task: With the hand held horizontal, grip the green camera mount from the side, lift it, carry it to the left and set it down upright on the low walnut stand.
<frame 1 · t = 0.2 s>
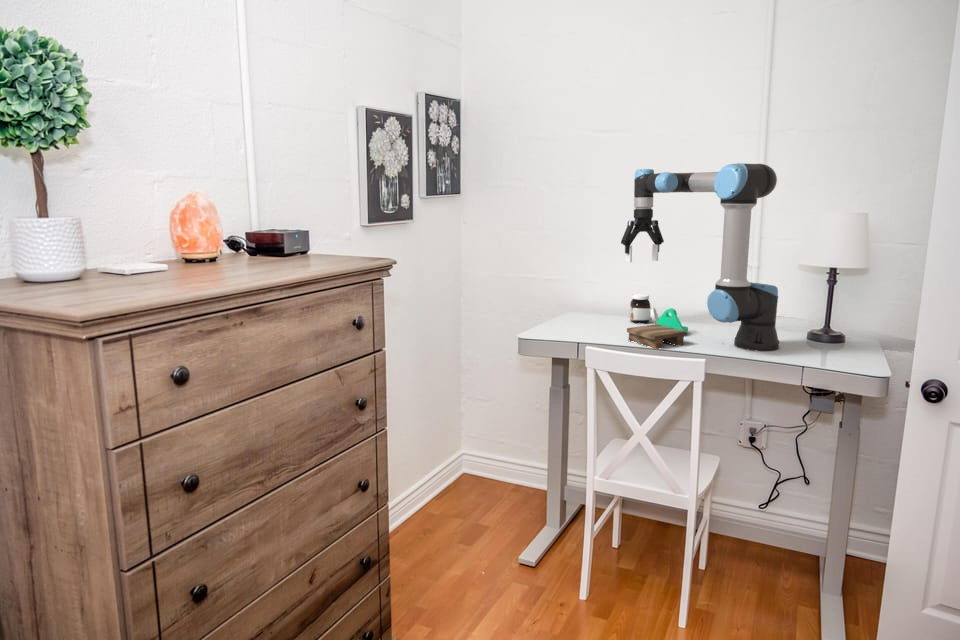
hand: (642, 261, 280), 27 cm above the table, tool pointing down, fingers open, 13 cm apart
walnut stand: (655, 342, 256), on the table
spread jar: (644, 323, 293), on the table
camera mount: (670, 334, 272), on the table
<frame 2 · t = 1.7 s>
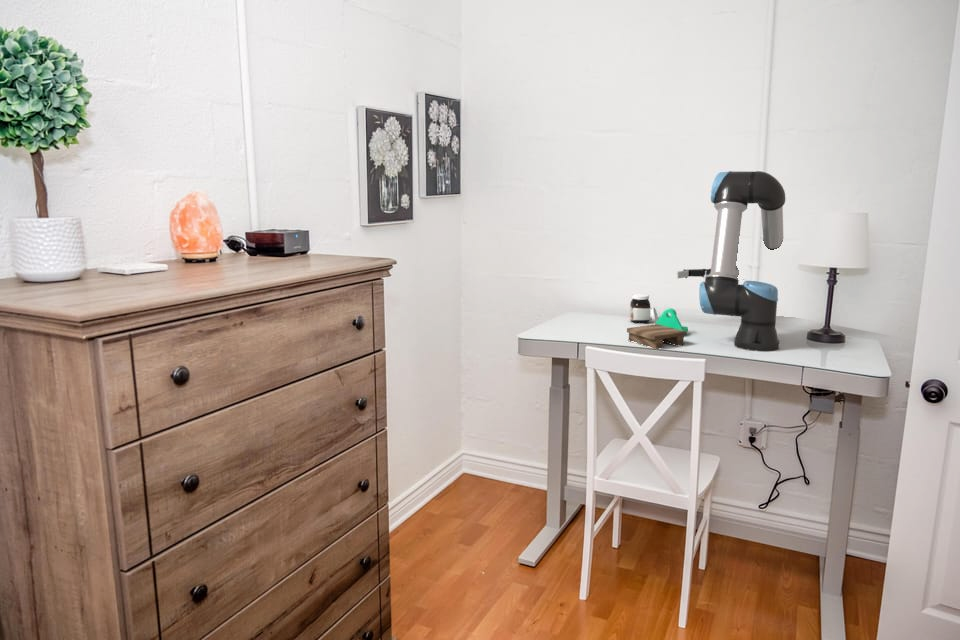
hand: (690, 276, 273), 22 cm above the table, tool horizontal, fingers open, 13 cm apart
nothing on the table moved.
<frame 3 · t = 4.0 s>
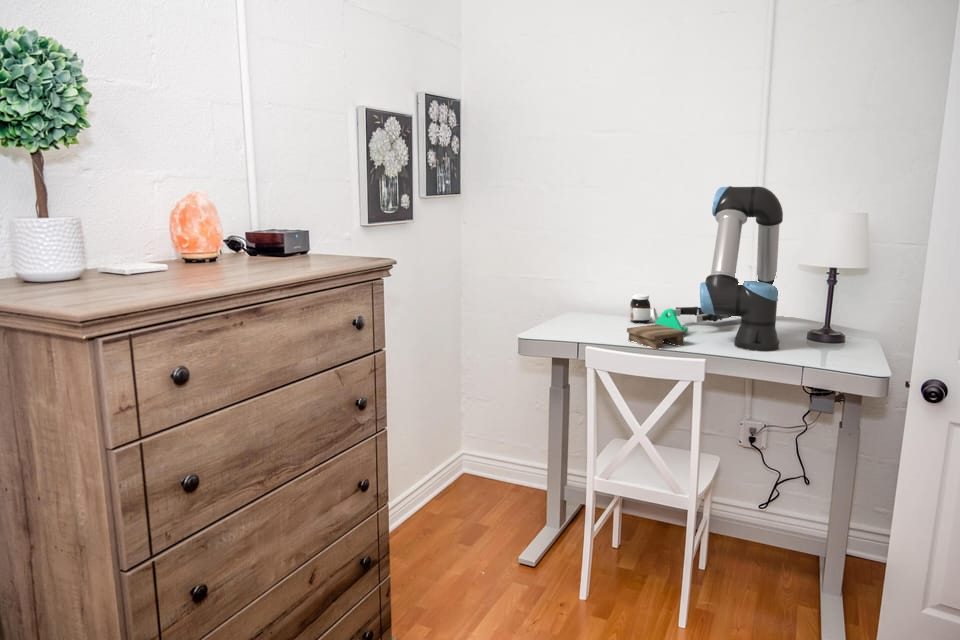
hand: (682, 316, 275), 6 cm above the table, tool horizontal, fingers open, 13 cm apart
nothing on the table moved.
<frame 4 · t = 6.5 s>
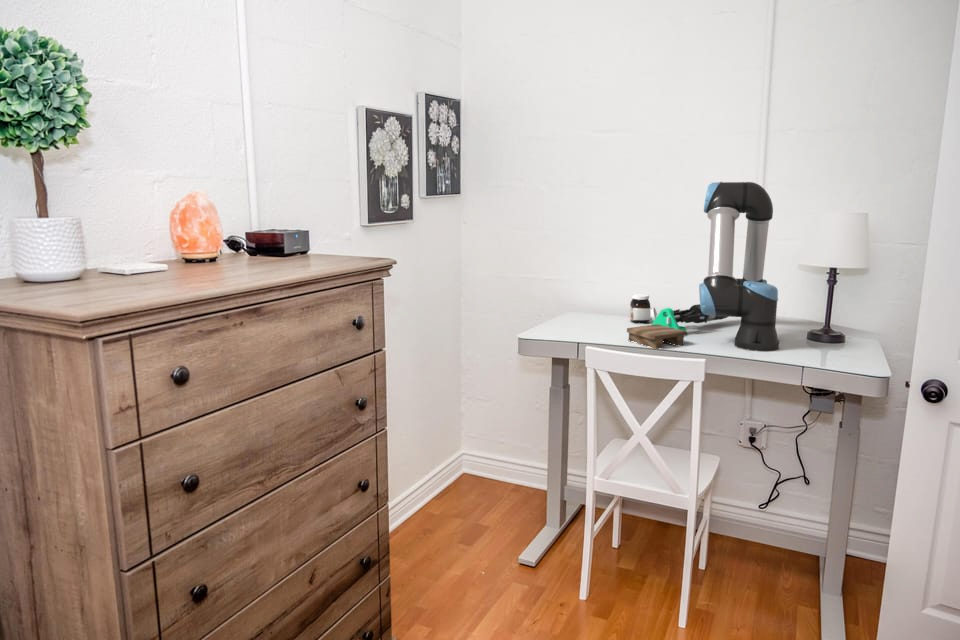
hand: (662, 319, 268), 6 cm above the table, tool horizontal, fingers closed on camera mount, 5 cm apart
camera mount: (668, 333, 272), on the table, touching gripper
everything else where it was.
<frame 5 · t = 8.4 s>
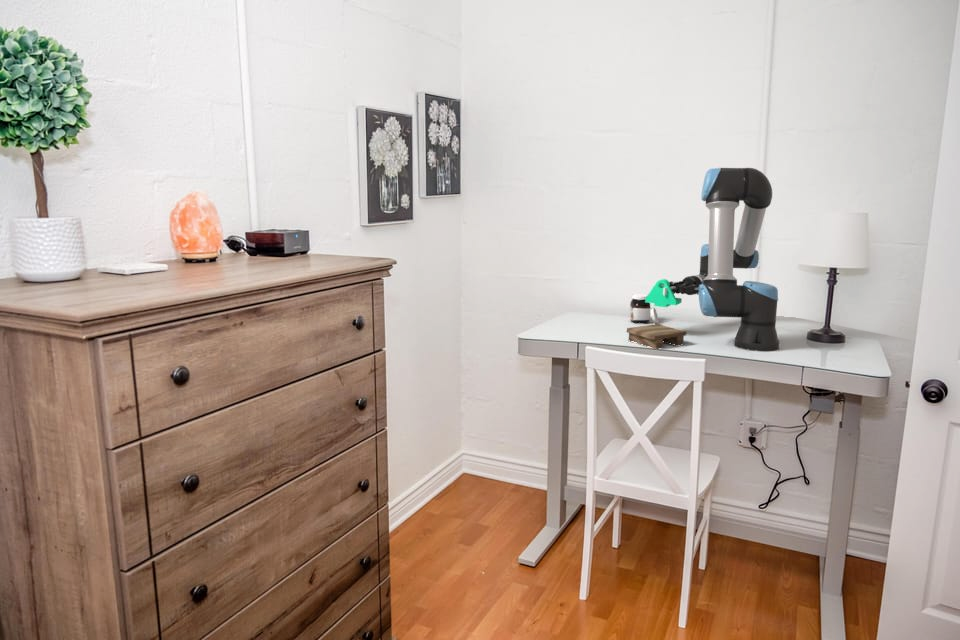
hand: (658, 290, 262), 18 cm above the table, tool horizontal, fingers closed on camera mount, 5 cm apart
camera mount: (663, 305, 266), point 12 cm above the table, touching gripper
everything else where it was.
when the fingers open (12 cm above the table, at t = 10.5 s): camera mount drops 1 cm, resting on walnut stand.
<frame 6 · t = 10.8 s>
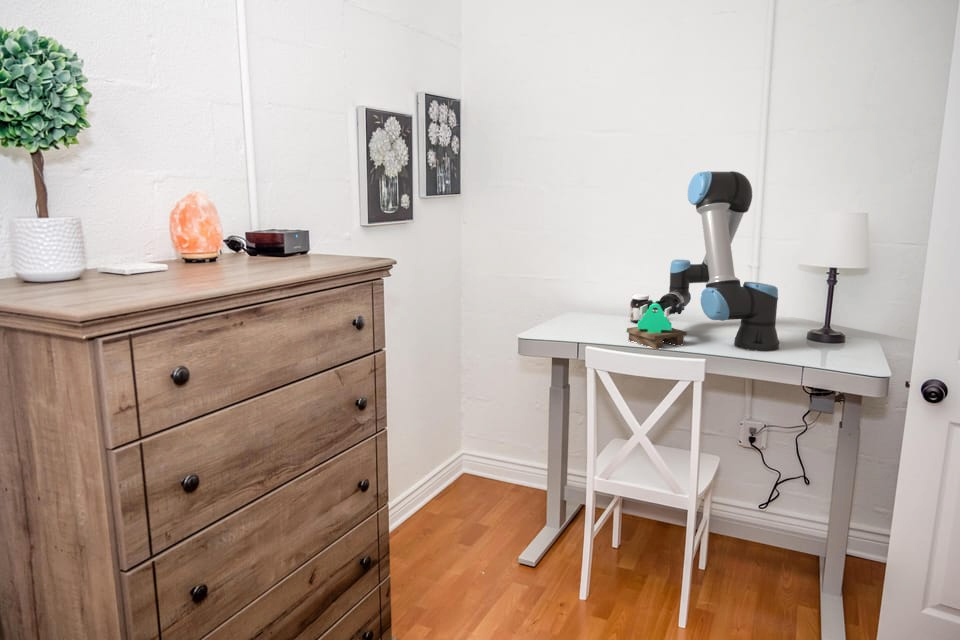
hand: (653, 311, 249), 12 cm above the table, tool horizontal, fingers open, 8 cm apart
camera mount: (654, 330, 254), point 5 cm above the table, touching walnut stand
everything else where it was.
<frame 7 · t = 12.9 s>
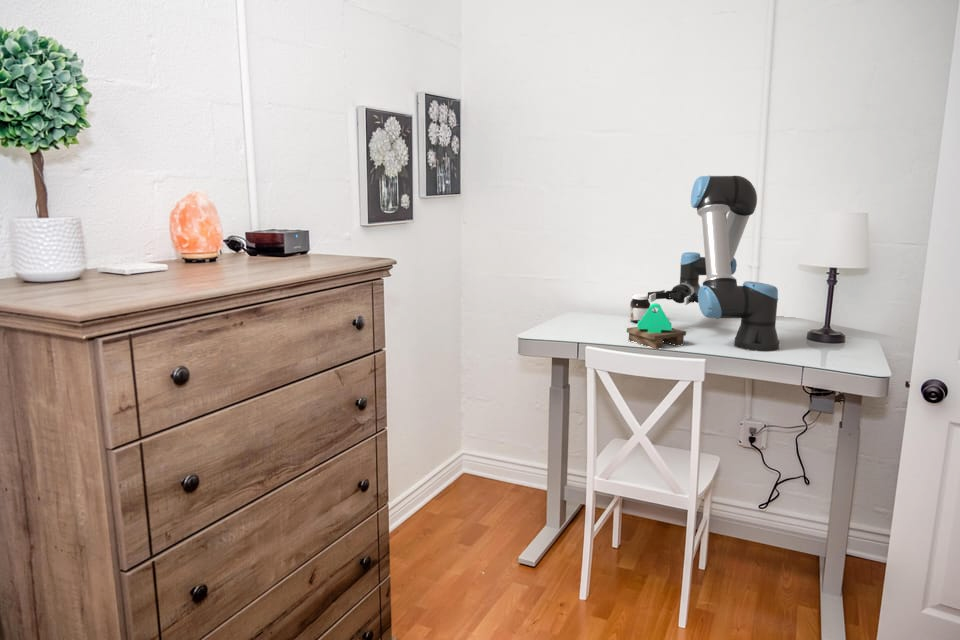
hand: (667, 300, 262), 15 cm above the table, tool horizontal, fingers open, 13 cm apart
nothing on the table moved.
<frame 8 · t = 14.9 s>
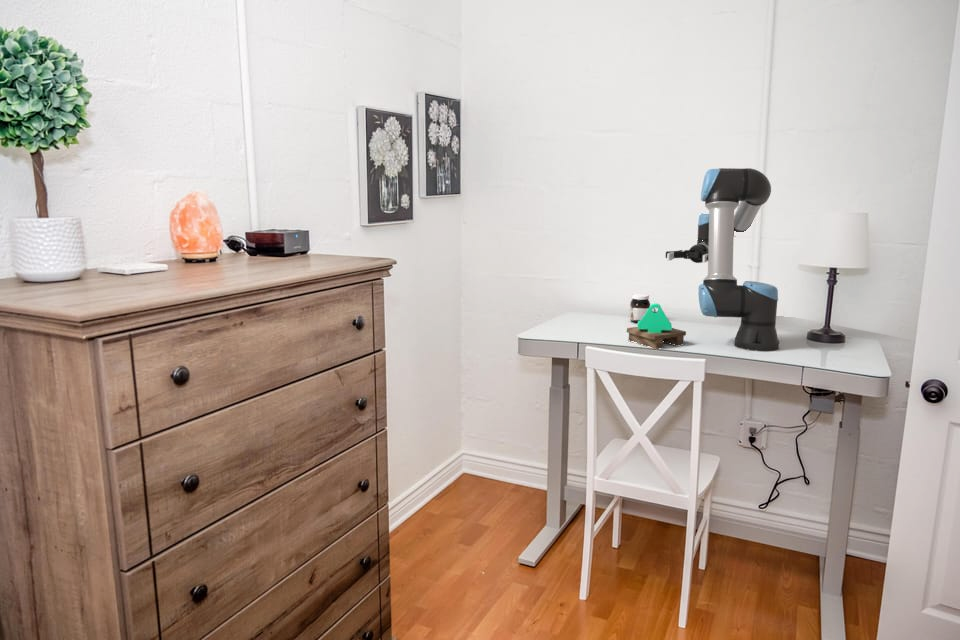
hand: (685, 258, 264), 30 cm above the table, tool horizontal, fingers open, 13 cm apart
nothing on the table moved.
at the end: camera mount inside the target area on the walnut stand (1.4 cm from its centre), point 4.8 cm above the walnut stand's base; camera mount tilted 0°; the gripper is holding nothing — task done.
